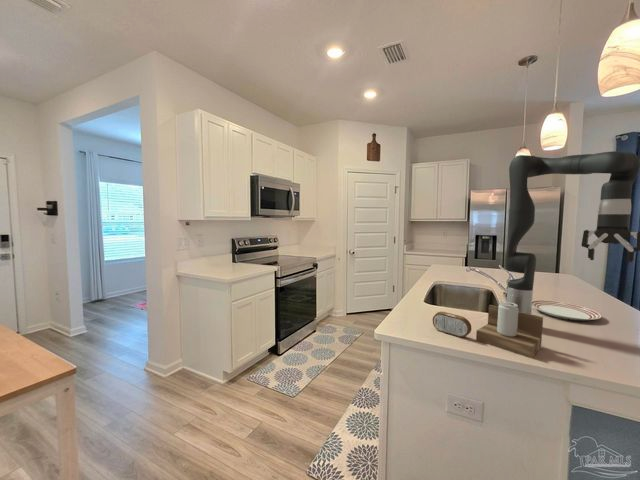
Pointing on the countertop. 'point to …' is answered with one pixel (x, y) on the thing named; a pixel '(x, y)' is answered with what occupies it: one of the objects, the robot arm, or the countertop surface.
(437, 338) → the countertop surface
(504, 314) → the beverage can
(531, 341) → the walnut shelf
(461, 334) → the tin
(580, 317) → the dinner plate
